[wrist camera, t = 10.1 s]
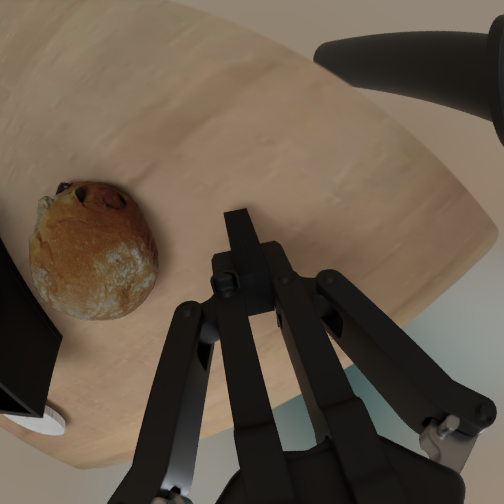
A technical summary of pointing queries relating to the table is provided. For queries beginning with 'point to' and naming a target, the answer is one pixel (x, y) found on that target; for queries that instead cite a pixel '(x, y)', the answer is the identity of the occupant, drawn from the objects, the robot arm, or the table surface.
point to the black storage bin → (23, 345)
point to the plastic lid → (42, 422)
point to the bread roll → (92, 252)
